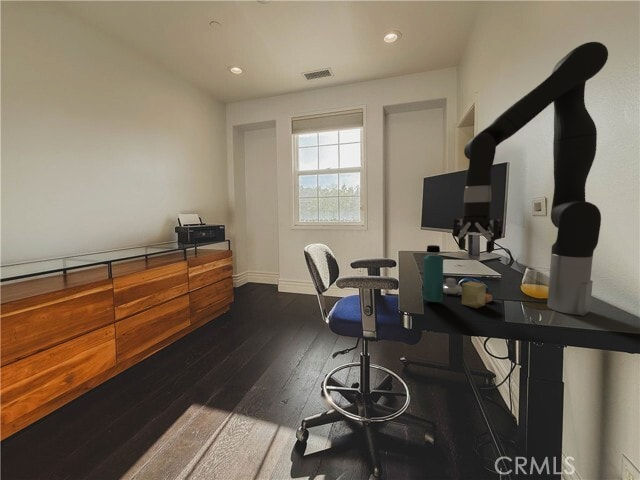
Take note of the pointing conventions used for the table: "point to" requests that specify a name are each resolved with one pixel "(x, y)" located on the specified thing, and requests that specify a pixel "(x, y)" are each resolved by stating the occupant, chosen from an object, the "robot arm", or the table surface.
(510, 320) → the table surface
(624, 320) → the table surface
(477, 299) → the beige rounded cube
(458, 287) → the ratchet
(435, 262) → the beverage bottle
